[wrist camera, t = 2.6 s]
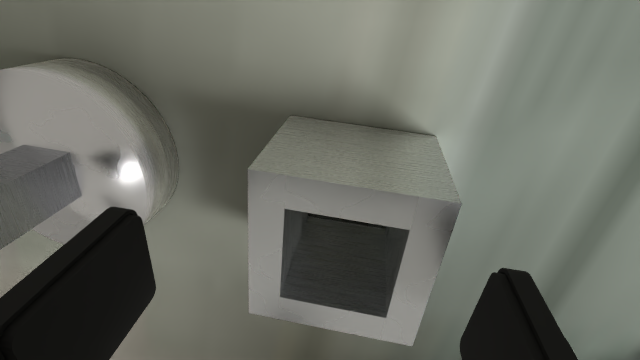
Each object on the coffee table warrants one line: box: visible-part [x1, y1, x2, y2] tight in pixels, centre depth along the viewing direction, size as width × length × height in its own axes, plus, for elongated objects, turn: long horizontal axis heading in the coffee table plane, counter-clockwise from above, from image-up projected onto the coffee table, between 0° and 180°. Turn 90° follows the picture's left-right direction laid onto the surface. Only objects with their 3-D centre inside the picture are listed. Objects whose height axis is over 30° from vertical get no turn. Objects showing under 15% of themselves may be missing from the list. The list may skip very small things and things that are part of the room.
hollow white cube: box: [248, 115, 462, 346], centre depth 13 cm, size 6×6×5 cm
